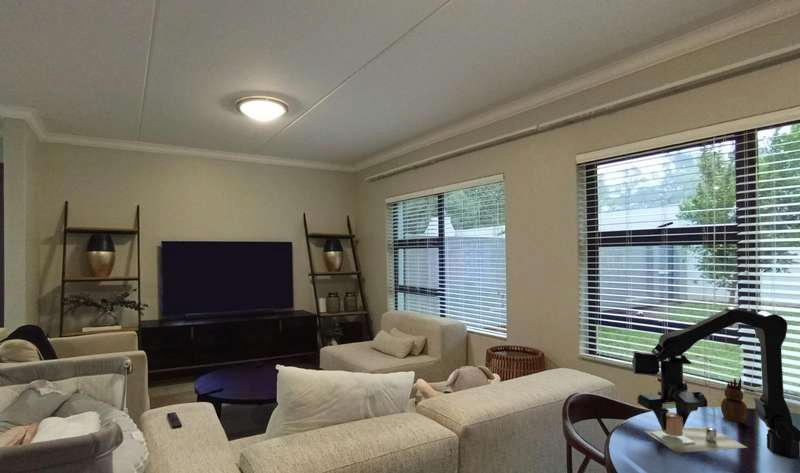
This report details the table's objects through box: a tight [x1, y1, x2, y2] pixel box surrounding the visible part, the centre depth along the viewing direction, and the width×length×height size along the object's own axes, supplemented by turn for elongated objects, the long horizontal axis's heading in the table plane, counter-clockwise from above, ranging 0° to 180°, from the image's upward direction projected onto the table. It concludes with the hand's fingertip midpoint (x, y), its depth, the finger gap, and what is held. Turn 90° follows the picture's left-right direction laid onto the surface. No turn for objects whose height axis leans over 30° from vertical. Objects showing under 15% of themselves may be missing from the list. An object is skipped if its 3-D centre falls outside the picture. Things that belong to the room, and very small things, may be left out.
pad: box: [651, 431, 695, 446], centre depth 132 cm, size 8×8×1 cm
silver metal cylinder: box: [705, 426, 717, 443], centre depth 130 cm, size 3×3×4 cm
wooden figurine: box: [720, 377, 748, 424], centre depth 145 cm, size 7×6×15 cm
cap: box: [661, 411, 683, 436], centre depth 132 cm, size 5×5×5 cm
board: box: [643, 426, 748, 454], centre depth 131 cm, size 14×22×1 cm, turn 97°
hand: (672, 429), depth 132 cm, fingers closed on cap, 5 cm apart
